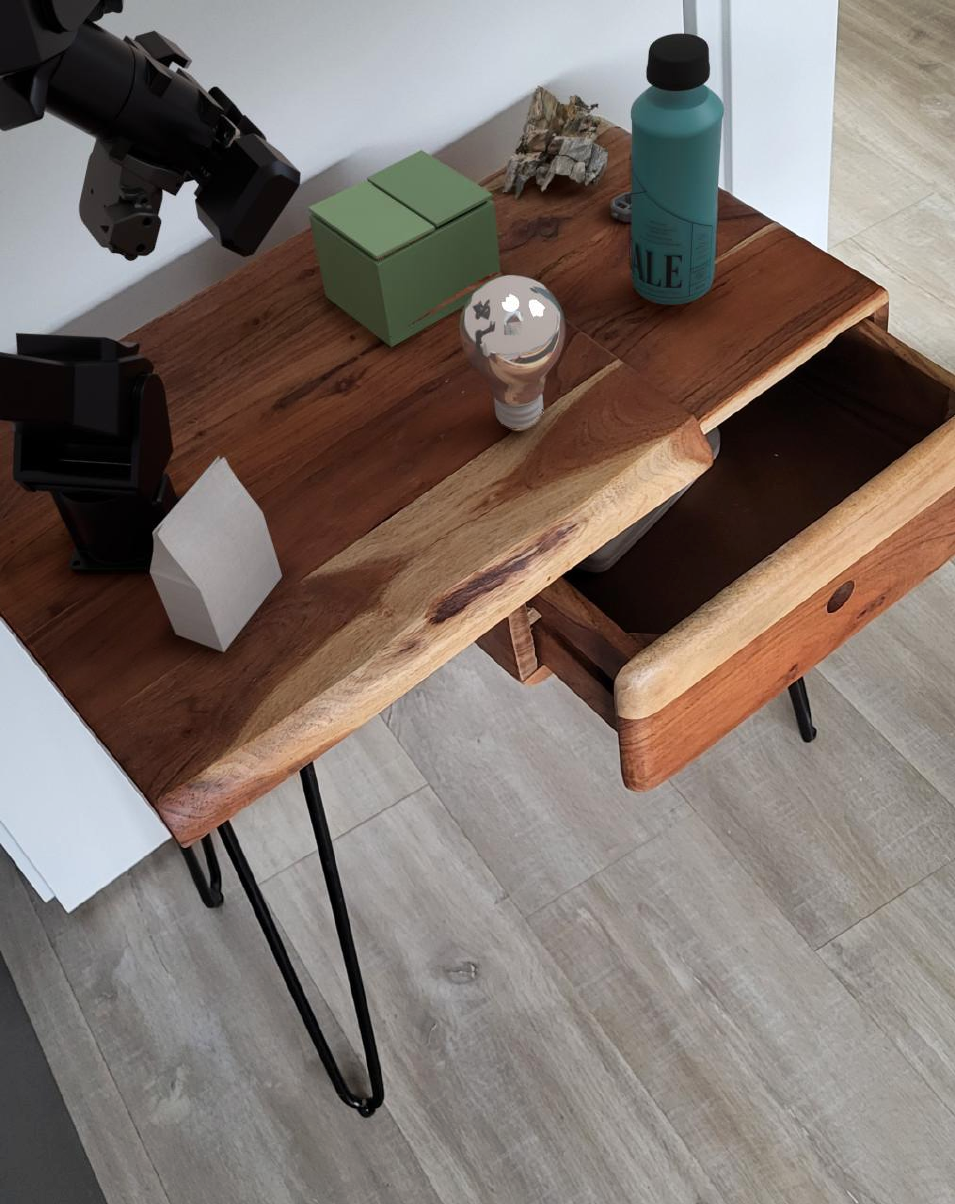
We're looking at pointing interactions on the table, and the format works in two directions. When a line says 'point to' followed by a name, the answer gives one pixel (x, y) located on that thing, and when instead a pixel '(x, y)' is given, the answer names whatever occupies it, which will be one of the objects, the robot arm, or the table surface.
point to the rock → (557, 143)
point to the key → (619, 202)
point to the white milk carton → (213, 559)
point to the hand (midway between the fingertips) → (289, 191)
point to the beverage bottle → (675, 173)
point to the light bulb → (513, 343)
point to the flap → (371, 219)
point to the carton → (413, 252)
